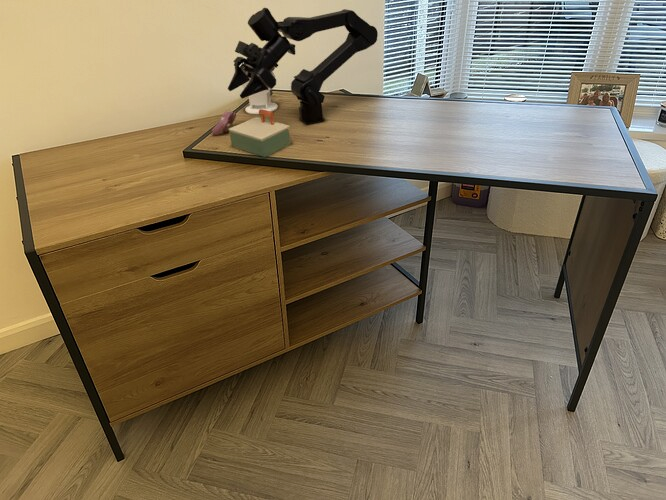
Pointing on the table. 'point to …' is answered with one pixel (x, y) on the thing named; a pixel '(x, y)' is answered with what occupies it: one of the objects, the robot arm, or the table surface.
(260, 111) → the lid
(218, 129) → the purple oblong lump
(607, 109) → the table surface
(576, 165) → the table surface
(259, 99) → the panda figurine
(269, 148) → the box
